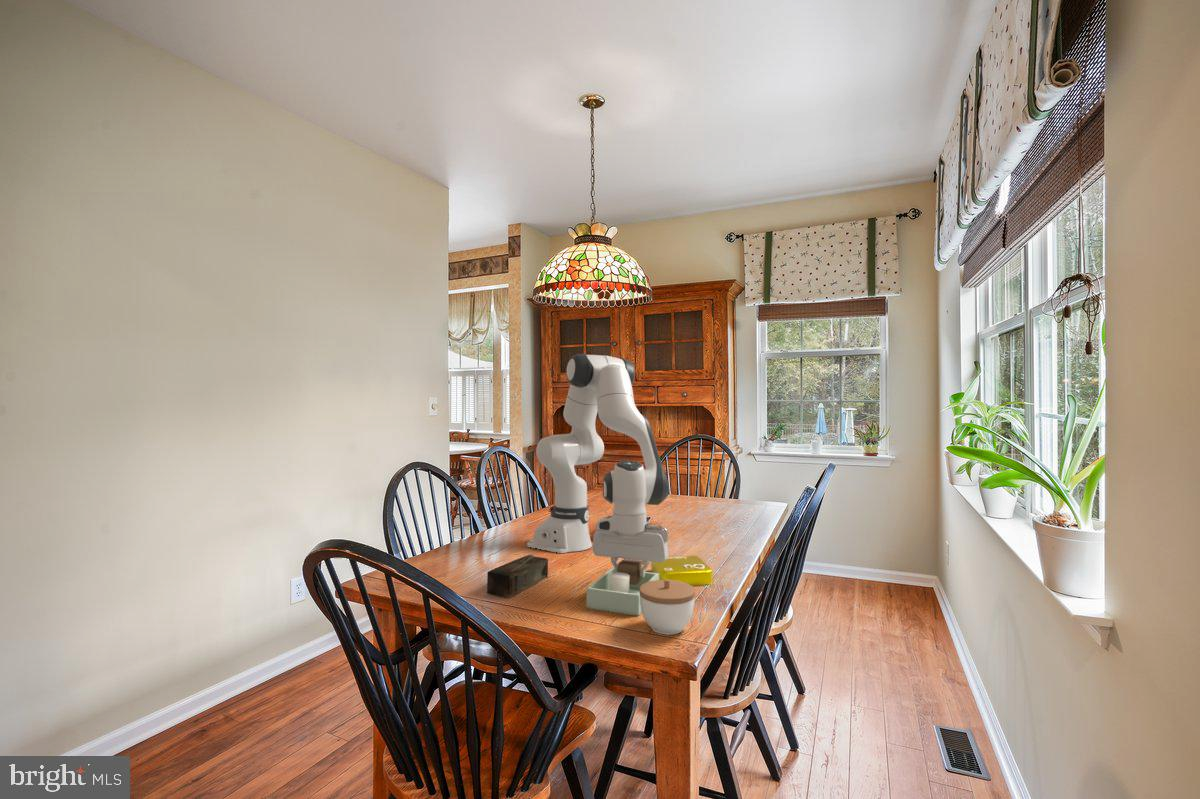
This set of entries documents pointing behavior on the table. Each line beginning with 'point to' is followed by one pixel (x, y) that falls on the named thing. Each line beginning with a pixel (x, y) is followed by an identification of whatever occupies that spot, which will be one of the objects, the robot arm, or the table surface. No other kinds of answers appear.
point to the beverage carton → (516, 575)
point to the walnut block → (631, 569)
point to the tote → (616, 595)
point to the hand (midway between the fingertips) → (630, 575)
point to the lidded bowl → (667, 605)
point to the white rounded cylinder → (619, 582)
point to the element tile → (684, 570)
